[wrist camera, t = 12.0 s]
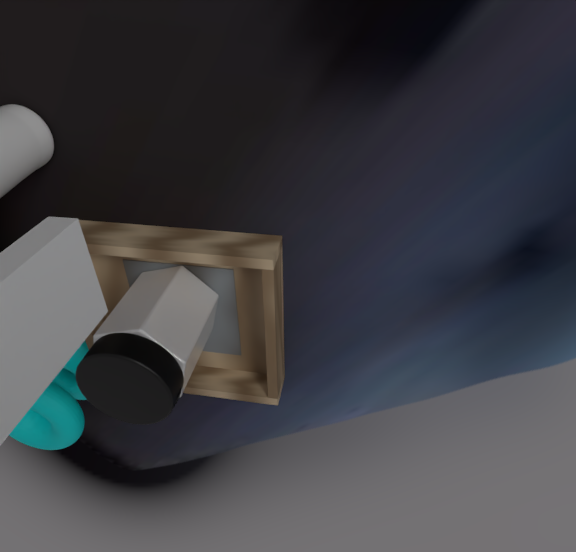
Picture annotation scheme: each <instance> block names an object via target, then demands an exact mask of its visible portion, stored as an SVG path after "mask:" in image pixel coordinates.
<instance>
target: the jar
mask: <svg viewBox="0 0 576 552" xmlns="http://www.w3.org/2000/svg"><path fill="white" fill-rule="evenodd" d="M218 297H219V296H218V294H217V293H216V292H215V291H213V290H212V289H211V288H210V287H208V286H207V285H206V284H205V283H203V282H202V281H201V280H200V279H199V278H197V277H196V276H195V275H194V274H192V273H191V272H190V271H189V270H188V269H186V268H185V267H184V266H176V267H170V268H164V269H158V270H153V271H147V272H142V273H141V274H140V275H139V277H138V278H137V279H136V281H135V282H134V283H133V285H132V286H131V287H130V288H129V290H128V291H127V292H126V294H125V295H124V296H123V298H122V299H121V300H120V301H119V303H118V304H117V305H116V307H115V308H114V309H113V310H112V312H111V313H110V314H109V316H108V317H107V318H106V320H105V321H104V322H103V323H102V325H101V326H100V327H99V329H98V330H97V331H96V333H95V334H94V335H93V346H92V347H91V348H90V350H89V351H88V352H87V353H86V355H85V356H84V357H83V359H82V360H81V361H80V363H79V364H78V366H77V369H76V382H77V385H78V387H79V389H80V391H81V393H82V394H83V395H84V397H85V398H86V399H87V400H88V401H89V402H90V403H91V404H92V405H93V406H95V407H96V408H97V409H99V410H100V411H102V412H103V413H105V414H107V415H109V416H111V417H113V418H115V419H118V420H121V421H124V422H128V423H133V424H153V423H157V422H159V421H161V420H163V419H165V418H166V417H167V416H168V415H169V414H170V413H171V411H172V409H173V408H174V406H175V404H176V403H177V401H178V399H179V397H181V396H182V394H183V392H184V389H185V387H186V385H187V383H188V381H189V379H190V376H191V374H192V372H193V370H194V368H195V366H196V363H197V361H198V359H199V357H200V355H201V353H202V350H203V348H204V346H205V344H206V342H207V340H208V338H209V335H210V333H211V331H212V329H213V325H214V319H215V314H216V308H217V303H218Z"/></svg>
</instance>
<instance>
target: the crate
mask: <svg viewBox="0 0 576 552" xmlns="http://www.w3.org/2000/svg"><path fill="white" fill-rule="evenodd" d="M79 223H80V226H81V229H82V232H83V235H84V239H85V242H86V245H87V248H88V251H89V254H90V257H91V260H92V263H93V266H94V269H95V272H96V275H97V278H98V282H99V285H100V288H101V291H102V294H103V297H104V300H105V303H106V306H107V309H108V312H107V313H106V315H105V316H104V317H103V318H102V320H101V321H100V322H99V323H98V325H97V326H96V327H95V328H94V330H93V331H92V332H91V333H90V335H89V336H88V337H87V338H86V340H85V341H86V344H87V347H88V349H89V350H90V348H91V347H92V346H93V335H94V334H95V333H96V331H97V330H98V329H99V327H100V326H101V325H102V323H103V322H104V321H105V320H106V318H107V317H108V316H109V314H110V313H111V312H112V310H113V309H114V308H115V307H116V305H117V304H118V303H119V301H120V300H121V299H122V298H123V296H124V295H125V294H126V292H127V291H128V290H129V288H130V287H131V286H132V285H133V283H134V282H135V281H136V279H137V278H138V277H139V275H140V274H141V273H142V272H147V271H153V270H158V269H164V268H170V267H176V266H184V267H185V268H186V269H188V270H189V271H190V272H191V273H192V274H194V275H195V276H196V277H197V278H199V279H200V280H201V281H202V282H203V283H205V284H206V285H207V286H208V287H210V288H211V289H212V290H213V291H215V292H216V293H217V294H218V296H219V297H218V303H217V308H216V314H215V319H214V325H213V329H212V331H211V333H210V335H209V338H208V340H207V342H206V344H205V346H204V348H203V350H202V353H201V355H200V357H199V359H198V361H197V363H196V366H195V368H194V370H193V372H192V374H191V376H190V379H189V381H188V383H187V385H186V387H185V389H184V392H183V393H188V394H196V395H203V396H211V397H218V398H226V399H233V400H241V401H248V402H256V403H263V404H271V405H278V403H279V399H280V395H281V390H282V386H283V382H284V378H285V366H284V313H283V261H282V236H278V235H265V234H252V233H239V232H227V231H214V230H201V229H188V228H176V227H163V226H150V225H137V224H125V223H112V222H99V221H86V220H79Z"/></svg>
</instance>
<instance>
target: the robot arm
mask: <svg viewBox="0 0 576 552" xmlns="http://www.w3.org/2000/svg"><path fill="white" fill-rule="evenodd" d="M107 312H108V309H107V306H106V303H105V300H104V297H103V294H102V291H101V288H100V285H99V282H98V278H97V275H96V272H95V269H94V266H93V263H92V260H91V257H90V254H89V251H88V248H87V245H86V242H85V239H84V235H83V232H82V229H81V226H80V223H79V220H78V218H62V217H47V218H46V219H45V220H43V221H42V222H41V223H39V224H38V225H37V226H35V227H34V228H33V229H31V230H30V231H29V232H27V233H26V234H25V235H23V236H22V237H21V238H19V239H18V240H17V241H15V242H14V243H13V244H11V245H10V246H9V247H7V248H6V249H5V250H3V251H2V252H1V253H0V445H1V444H2V443H3V442H4V440H5V439H6V438H7V437H8V435H9V434H10V433H11V432H12V430H13V429H14V428H15V427H16V425H17V424H18V423H19V422H20V421H21V419H22V418H23V417H24V416H25V414H26V413H27V412H28V411H29V409H30V408H31V407H32V406H33V404H34V403H35V402H36V401H37V399H38V398H39V397H40V396H41V394H42V393H43V392H44V391H45V389H46V388H47V387H48V386H49V384H50V383H51V382H52V381H53V379H54V378H55V377H56V376H57V374H58V373H59V372H60V371H61V369H62V368H63V367H64V366H65V364H66V363H67V362H68V361H69V359H70V358H71V357H72V356H73V354H74V353H75V352H76V351H77V349H78V348H79V347H80V346H81V345H82V343H83V342H84V341H85V340H86V338H87V337H88V336H89V335H90V333H91V332H92V331H93V330H94V328H95V327H96V326H97V325H98V323H99V322H100V321H101V320H102V318H103V317H104V316H105V315H106V313H107Z"/></svg>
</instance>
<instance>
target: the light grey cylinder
mask: <svg viewBox="0 0 576 552" xmlns="http://www.w3.org/2000/svg"><path fill="white" fill-rule="evenodd" d="M53 152H54V140H53V137H52V134H51V131H50V129H49V128H48V126H47V125H46V123H45V122H44V121H43V120H42V118H41V117H40V116H38V115H37V114H36V113H35V112H33V111H32V110H30V109H28V108H26V107H24V106H20V105H15V104H9V105H4V106H1V107H0V198H1V197H3V196H4V195H5V194H6V193H8V192H9V191H10V190H11V189H13V188H14V187H15V186H16V185H18V184H19V183H20V182H21V181H23V180H24V179H25V178H26V177H28V176H29V175H30V174H32V173H33V172H34V171H36V170H37V169H39V168H41V167H42V166H44V165H45V164H46V163H48V162H49V160H50V159H51V157H52V155H53Z"/></svg>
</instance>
